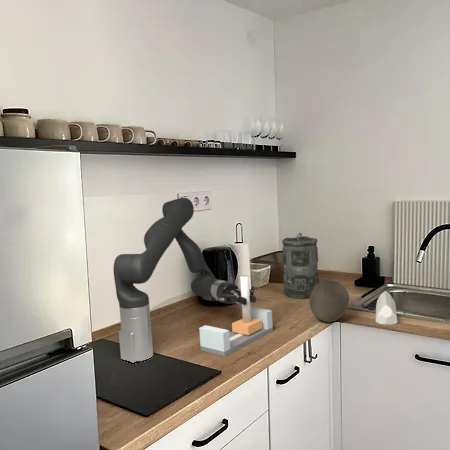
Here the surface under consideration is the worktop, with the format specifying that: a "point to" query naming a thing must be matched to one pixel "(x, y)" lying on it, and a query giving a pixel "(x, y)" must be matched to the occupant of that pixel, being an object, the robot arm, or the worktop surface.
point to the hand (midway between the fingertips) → (250, 300)
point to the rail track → (233, 335)
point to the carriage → (246, 312)
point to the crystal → (386, 310)
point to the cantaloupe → (328, 300)
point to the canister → (300, 266)
